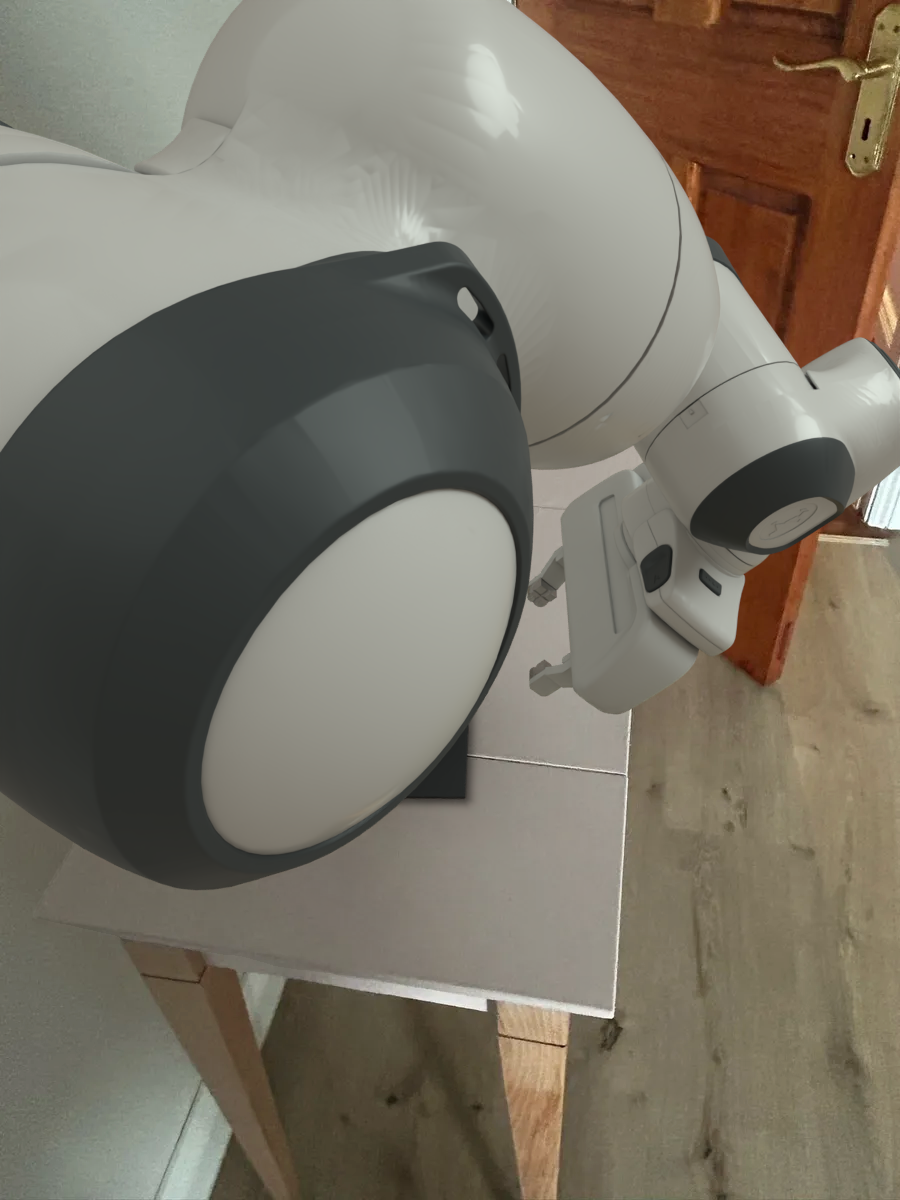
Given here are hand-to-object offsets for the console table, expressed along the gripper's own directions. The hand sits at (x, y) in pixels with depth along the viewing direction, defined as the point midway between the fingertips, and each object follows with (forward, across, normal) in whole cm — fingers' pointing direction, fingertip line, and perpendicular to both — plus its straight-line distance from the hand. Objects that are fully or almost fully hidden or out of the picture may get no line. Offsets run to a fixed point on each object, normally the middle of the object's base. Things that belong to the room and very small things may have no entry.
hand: (533, 638), depth 69 cm
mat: (+16, 0, -1) cm, 16 cm away
